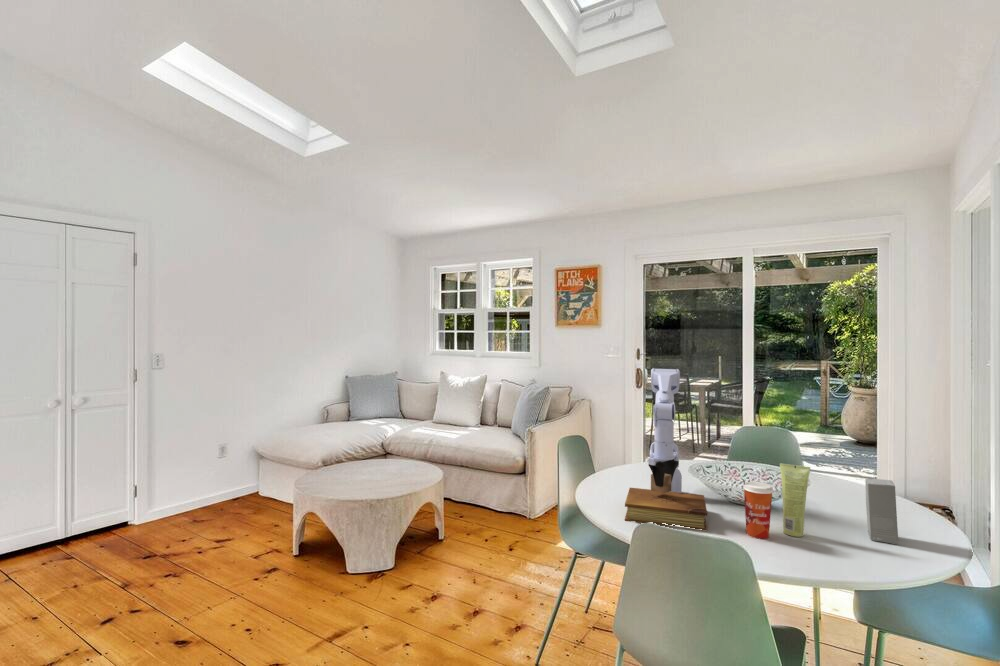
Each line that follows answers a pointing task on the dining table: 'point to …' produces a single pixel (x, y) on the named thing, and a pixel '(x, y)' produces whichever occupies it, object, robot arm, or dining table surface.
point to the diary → (666, 508)
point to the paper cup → (757, 508)
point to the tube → (794, 497)
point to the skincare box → (881, 510)
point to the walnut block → (663, 484)
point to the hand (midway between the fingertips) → (663, 484)
